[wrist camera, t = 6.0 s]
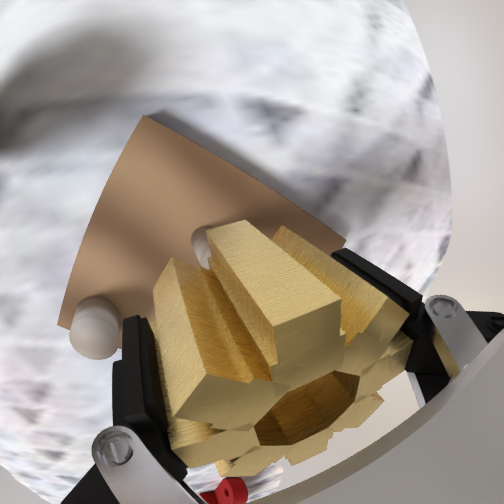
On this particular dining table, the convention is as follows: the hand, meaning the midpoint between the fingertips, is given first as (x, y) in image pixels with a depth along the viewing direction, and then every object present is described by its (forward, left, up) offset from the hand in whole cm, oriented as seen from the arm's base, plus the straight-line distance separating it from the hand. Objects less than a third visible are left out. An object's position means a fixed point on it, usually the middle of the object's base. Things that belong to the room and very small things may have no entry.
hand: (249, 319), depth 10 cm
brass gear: (0, 0, -1) cm, 1 cm away
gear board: (+2, +1, -9) cm, 9 cm away
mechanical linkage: (+39, +23, -9) cm, 46 cm away
